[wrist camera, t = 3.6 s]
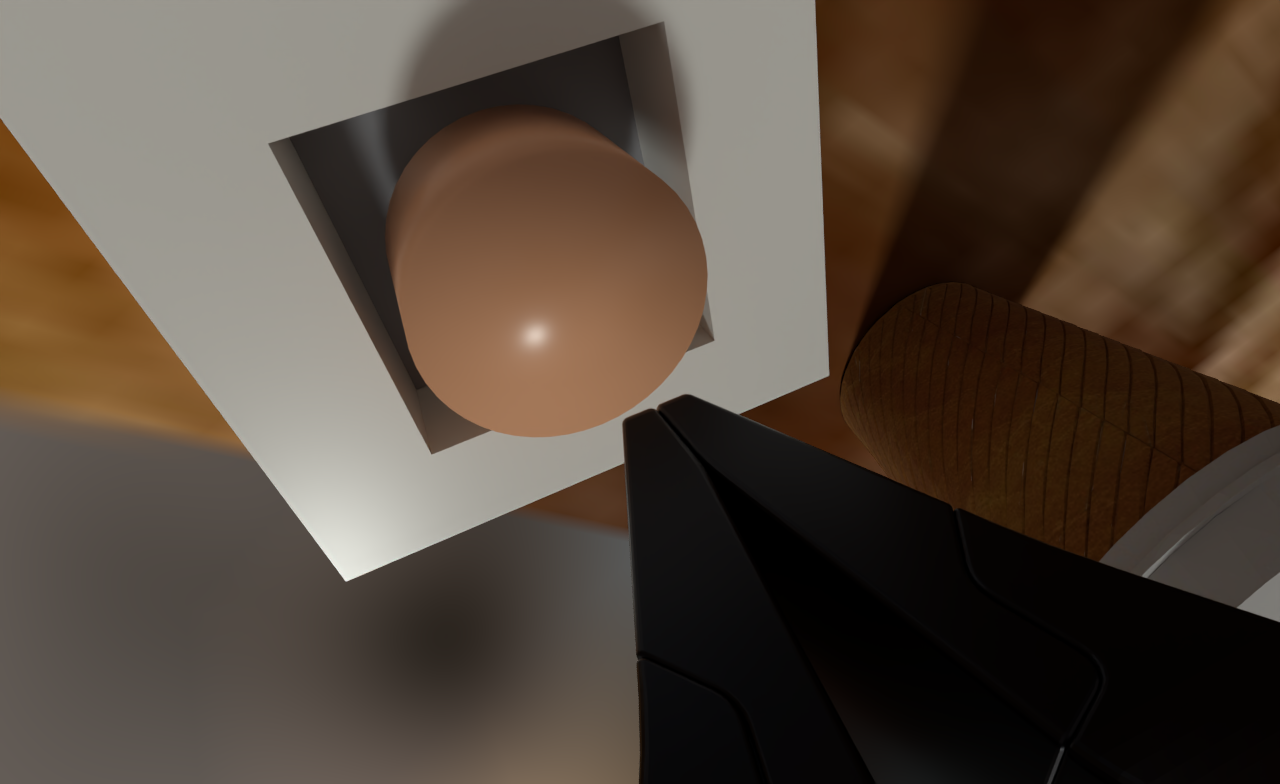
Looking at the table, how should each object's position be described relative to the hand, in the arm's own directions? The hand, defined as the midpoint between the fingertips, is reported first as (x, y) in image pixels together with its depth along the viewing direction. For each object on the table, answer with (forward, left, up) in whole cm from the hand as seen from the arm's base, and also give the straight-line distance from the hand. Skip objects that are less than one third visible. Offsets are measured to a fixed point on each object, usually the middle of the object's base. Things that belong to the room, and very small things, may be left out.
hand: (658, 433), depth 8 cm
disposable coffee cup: (-12, +11, -10) cm, 19 cm away
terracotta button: (0, 0, -7) cm, 7 cm away
